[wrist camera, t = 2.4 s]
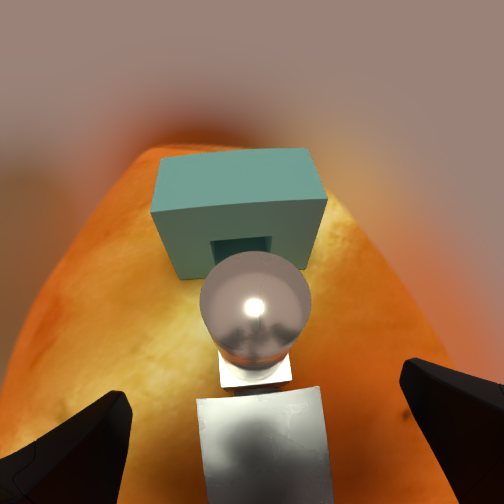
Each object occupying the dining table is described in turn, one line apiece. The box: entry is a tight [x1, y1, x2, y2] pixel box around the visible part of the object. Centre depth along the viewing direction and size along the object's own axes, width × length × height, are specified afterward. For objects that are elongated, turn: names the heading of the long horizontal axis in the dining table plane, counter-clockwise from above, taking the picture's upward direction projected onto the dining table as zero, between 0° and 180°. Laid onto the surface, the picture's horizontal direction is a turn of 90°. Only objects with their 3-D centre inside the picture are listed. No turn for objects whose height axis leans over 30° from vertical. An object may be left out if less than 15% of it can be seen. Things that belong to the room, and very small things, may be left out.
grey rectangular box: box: [197, 386, 334, 504], centre depth 11 cm, size 12×6×5 cm, turn 6°
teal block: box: [150, 148, 328, 280], centre depth 19 cm, size 5×10×8 cm, turn 96°
